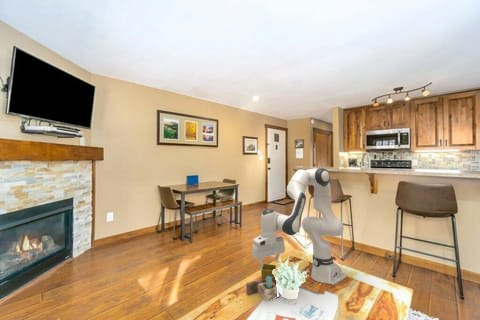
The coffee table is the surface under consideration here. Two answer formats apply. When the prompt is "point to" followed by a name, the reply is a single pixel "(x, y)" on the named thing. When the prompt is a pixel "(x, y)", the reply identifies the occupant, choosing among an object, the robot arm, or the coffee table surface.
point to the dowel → (268, 282)
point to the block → (267, 291)
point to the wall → (256, 285)
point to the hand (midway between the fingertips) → (269, 262)
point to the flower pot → (267, 270)
